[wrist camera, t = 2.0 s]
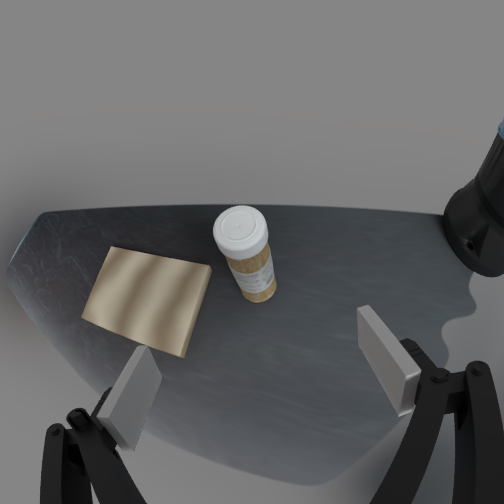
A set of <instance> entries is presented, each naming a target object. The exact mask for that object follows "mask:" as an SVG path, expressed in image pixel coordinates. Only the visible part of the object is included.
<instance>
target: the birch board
mask: <svg viewBox="0 0 504 504" xmlns="http://www.w3.org/2000/svg"><path fill="white" fill-rule="evenodd" d="M211 274H212V269H211V267H210V266H209V265H204V264H199V263H193V262H188V261H183V260H177V259H172V258H167V257H162V256H157V255H151V254H146V253H141V252H136V251H131V250H126V249H121V248H116V247H112V246H111V248H110V251H109V253H108V255H107V257H106V259H105V261H104V264H103V266H102V268H101V270H100V273H99V275H98V277H97V279H96V282H95V284H94V287H93V289H92V291H91V294H90V296H89V299H88V301H87V304H86V307H85V309H84V312H83V314H82V317H81V318H83V319H85V320H87V321H89V322H91V323H93V324H96V325H98V326H100V327H102V328H105V329H107V330H109V331H112V332H114V333H116V334H119V335H121V336H124V337H126V338H129V339H131V340H134V341H137V342H139V343H142V344H144V345H148V346H150V347H153V348H155V349H158V350H161V351H164V352H167V353H170V354H173V355H176V356H179V357H182V358H184V357H185V354H186V351H187V347H188V344H189V341H190V338H191V335H192V332H193V328H194V325H195V322H196V319H197V316H198V313H199V310H200V307H201V304H202V301H203V298H204V294H205V291H206V288H207V285H208V282H209V279H210V276H211Z"/></svg>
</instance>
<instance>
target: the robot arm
mask: <svg viewBox="0 0 504 504" xmlns="http://www.w3.org/2000/svg"><path fill="white" fill-rule="evenodd" d="M443 221H444V228H445V232H446V235H447V238H448V240H449V243H450V245H451V246H452V248H453V250H454V251H455V253H456V254H457V256H458V257H459V258H460V259H461V260H462V261H463V263H464V264H465V265H467V266H468V267H469V268H470V269H471V270H473V271H474V272H476V273H478V274H480V275H483V276H486V277H498V276H500V275H502V274H504V119H503V121H502V123H500V125H499V126H498V133H497V136H496V138H495V140H494V142H493V144H492V146H491V148H490V150H489V152H488V154H487V156H486V158H485V160H484V162H483V164H482V166H481V168H480V169H479V171H478V173H477V175H476V177H475V178H474V179H473V180H471V181H470V182H469V183H468V184H467V185H466V186H465V187H464V188H462V189H460V190H458V191H457V192H455V193H454V195H453V196H452V197H451V199H450V200H449V202H448V204H447V206H446V208H445V211H444V217H443ZM357 319H358V345H359V347H360V349H361V350H362V352H363V354H364V355H365V357H366V359H367V361H368V362H369V364H370V366H371V368H372V369H373V371H374V373H375V375H376V376H377V378H378V380H379V382H380V383H381V385H382V387H383V389H384V391H385V392H386V394H387V396H388V398H389V400H390V402H391V403H392V405H393V407H394V409H395V411H396V413H397V414H398V416H401V415H404V414H406V413H409V412H411V411H413V407H414V403H415V405H416V407H415V410H414V413H413V415H412V418H411V420H410V423H409V426H408V428H407V431H406V433H405V435H404V438H403V440H402V442H401V445H400V447H399V449H398V451H397V453H396V456H395V458H394V460H393V462H392V464H391V466H390V468H389V470H388V472H387V474H386V476H385V478H384V479H383V481H382V483H381V485H380V487H379V488H378V490H377V492H376V494H375V495H374V497H373V499H372V501H371V502H370V504H411V503H412V501H413V499H414V496H415V494H416V492H417V490H418V487H419V485H420V483H421V481H422V478H423V476H424V474H425V471H426V468H427V466H428V463H429V460H430V457H431V455H432V452H433V449H434V446H435V443H436V440H437V437H438V434H439V430H440V427H441V423H442V420H443V416H444V414H450V413H454V422H455V474H454V488H453V498H452V504H504V431H503V425H502V419H501V414H500V409H499V404H498V399H497V394H496V390H495V386H494V382H493V379H492V375H491V372H490V368H489V366H488V365H487V364H486V363H485V362H482V361H473V362H471V363H469V364H468V365H467V367H466V370H465V371H462V372H457V373H450V372H449V371H448V370H446V369H444V368H437V367H436V366H435V364H434V363H433V362H432V361H431V360H430V358H429V357H428V356H427V355H426V354H425V353H424V351H423V350H422V349H420V347H419V346H418V345H417V343H416V342H414V341H412V340H410V339H408V338H407V339H404V340H401V341H398V340H397V339H396V337H395V336H394V335H393V334H392V333H391V331H390V330H389V329H388V328H387V326H386V325H385V324H384V323H383V322H382V320H381V319H380V318H379V317H378V316H377V314H376V313H375V312H374V311H373V310H372V308H371V307H370V306H369V305H366V306H362V307H358V308H357ZM161 380H162V376H161V374H160V371H159V369H158V367H157V365H156V363H155V361H154V358H153V356H152V354H151V352H150V349H149V347H148V345H144V346H137V348H136V350H135V351H134V353H133V354H132V356H131V358H130V359H129V361H128V363H127V364H126V366H125V368H124V369H123V371H122V373H121V375H120V376H119V378H118V380H117V381H116V383H115V385H114V386H113V387H110V388H109V389H108V390H106V391H105V392H104V394H103V395H102V397H101V400H99V402H98V404H97V406H96V407H95V409H94V411H93V412H92V414H91V416H89V414H88V413H87V412H86V410H85V409H83V408H76V409H74V410H72V411H71V412H70V413H69V414H68V415H67V418H66V420H67V422H68V423H69V424H70V426H71V427H72V428H73V429H65V428H64V426H63V425H62V424H60V423H56V424H53V425H51V426H50V427H49V428H48V429H47V432H46V437H45V444H44V452H43V460H42V471H41V486H40V504H93V501H92V492H91V484H92V486H93V489H94V491H95V494H96V496H97V498H98V501H99V503H100V504H147V503H146V502H145V500H144V498H143V497H142V495H141V494H140V492H139V490H138V489H137V487H136V485H135V484H134V482H133V480H132V478H131V476H130V475H129V473H128V471H127V469H126V467H125V465H124V464H123V461H122V459H121V457H120V456H119V453H118V452H117V451H116V449H115V447H116V445H117V444H118V445H119V447H120V448H121V449H122V450H125V451H135V448H136V445H137V442H138V440H139V437H140V434H141V432H142V429H143V426H144V424H145V421H146V419H147V416H148V413H149V411H150V408H151V406H152V403H153V400H154V398H155V395H156V393H157V390H158V388H159V385H160V383H161ZM90 481H91V482H90Z"/></svg>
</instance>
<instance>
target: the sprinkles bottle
mask: <svg viewBox="0 0 504 504" xmlns="http://www.w3.org/2000/svg"><path fill="white" fill-rule="evenodd" d="M213 235H214V239H215V241H216V243H217V245H218V247H219V249H220V251H221V252H222V253H223V254H224V255H225V257H226V259H227V262H228V265H229V267H230V269H231V271H232V273H233V275H234V277H235V280H236V282H237V283H238V285H239V286H240V289H241V292H242V294H243V296H244V297H245V298H246V299H248V300H249V301H252V302H258V303H259V302H263V301H266V300H268V299H269V298H270V297H272V295H273V294H274V292H275V290H276V280H275V277H274V269H273V263H272V257H271V252H270V248H269V245H268V241H267V240H268V230H267V225H266V221H265V218H264V217H263V215H262V214H261V213H260V212H259V211H258V210H257V209H255V208H253V207H250V206H235V207H232V208H229V209H227V210H226V211H224V212H223V213H221V214H220V216H219V217H218V218H217V219H216V221H215V224H214V227H213Z"/></svg>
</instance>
